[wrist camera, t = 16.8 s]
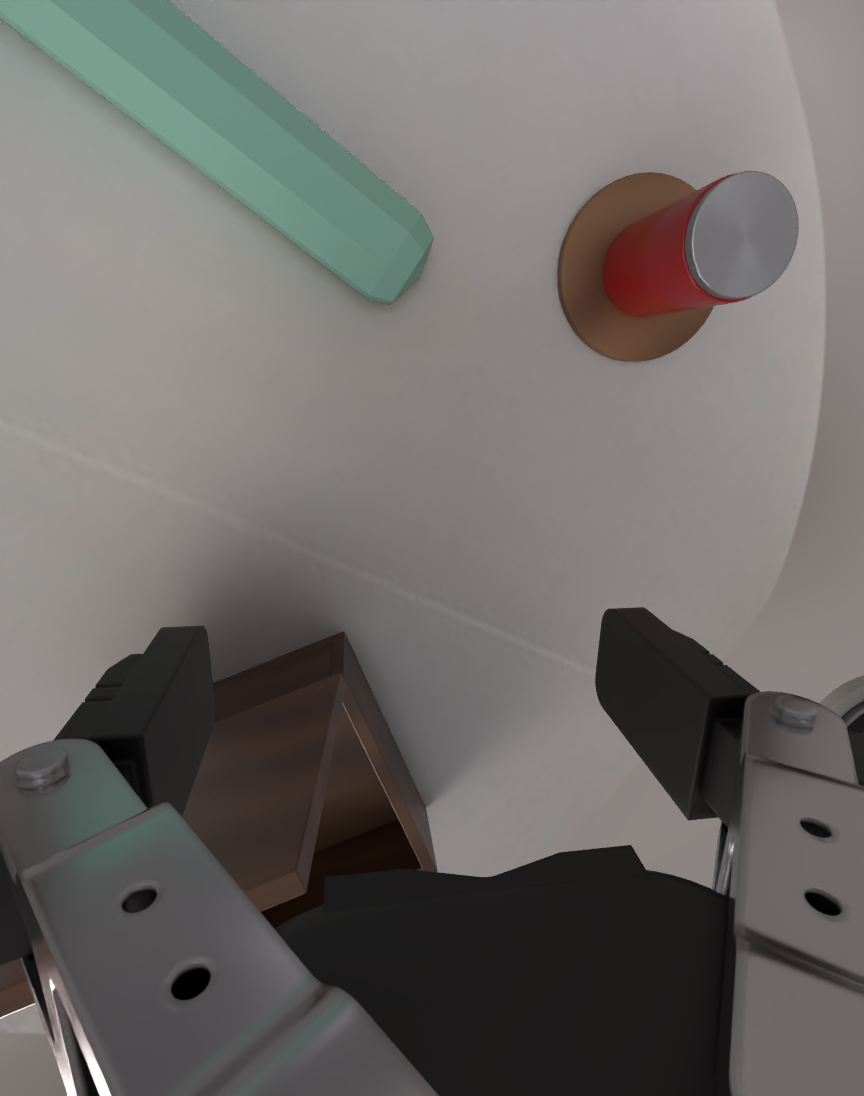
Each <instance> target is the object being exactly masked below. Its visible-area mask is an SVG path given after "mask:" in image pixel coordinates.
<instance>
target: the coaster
mask: <svg viewBox="0 0 864 1096" xmlns="http://www.w3.org/2000/svg"><path fill="white" fill-rule="evenodd" d="M695 191H696V190H695V189H694V188H693V187H692V186H690V185H689V184H687V183H685V182H684V181H682V180H680V179H678V178H675V177H673V176H670V175H666V174H661V173H650V172H649V173H638V174H634V175H630V176H626V177H624V178H621V179H619V180H616V181H614V182H613V183H611V184H609V185H608V186H606V187H605V188H603V189H602V190H600V191H599V192H598V193H597V194H595V195H594V196H593V197H592V198H591V199H590V200H589V201H588V202H587V203H586V204H585V205H584V206H583V207H582V209H581V210H580V211H579V213H578V214H577V215H576V217H575V219H574V220H573V222H572V224H571V226H570V228H569V230H568V232H567V234H566V237H565V239H564V243H563V246H562V249H561V254H560V259H559V268H558V287H559V293H560V299H561V303H562V306H563V309H564V312H565V314H566V317H567V319H568V321H569V323H570V324H571V326H572V328H573V329H574V331H575V332H576V333H577V335H578V336H579V337H580V338H581V339H582V340H583V341H584V342H585V343H586V344H587V345H588V346H589V347H591V348H592V349H593V350H595V351H596V352H598V353H600V354H602V355H604V356H606V357H609V358H612V359H615V360H621V361H646V360H651V359H655V358H659V357H661V356H664V355H666V354H669V353H671V352H672V351H674V350H676V349H677V348H679V347H680V346H682V345H683V344H684V343H686V342H687V341H688V340H689V339H690V338H691V337H692V336H693V335H694V334H695V333H696V332H697V331H698V330H699V329H700V327H701V326H702V325H703V324H704V322H705V321H706V319H707V318H708V316H709V315H710V313H711V311H712V309H713V307H714V306H711V307H705V308H700V309H694V310H688V311H683V312H677V313H671V314H665V315H660V316H654V317H648V318H637V317H632V316H630V315H627V314H625V313H623V312H622V311H621V310H619V309H618V308H617V307H616V306H615V305H614V303H613V302H612V301H611V299H610V297H609V296H608V293H607V291H606V287H605V283H604V263H605V258H606V255H607V252H608V250H609V248H610V246H611V244H612V242H613V241H614V239H615V238H616V237H617V235H618V234H619V233H620V232H621V231H622V230H624V229H625V228H626V227H627V226H629V225H631V224H633V223H635V222H637V221H638V220H640V219H642V218H644V217H646V216H648V215H650V214H652V213H654V212H656V211H658V210H660V209H662V208H664V207H666V206H668V205H670V204H672V203H673V202H675V201H677V200H679V199H681V198H683V197H685V196H687V195H689V194H691V193H693V192H695Z"/></svg>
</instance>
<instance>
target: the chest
mask: <svg viewBox="0 0 864 1096" xmlns="http://www.w3.org/2000/svg"><path fill="white" fill-rule="evenodd" d="M338 673H341V674H342V676H343V679H344V681H345V683H346V686H345V692H344V697H343V702H342V707H341V713H340V718H339V723H338V728H337V734H336V739H335V744H334V749H333V755H332V760H331V765H330V770H329V776H328V781H327V786H326V791H325V796H324V802H323V807H322V812H321V817H320V823H319V828H318V833H317V838H316V844H315V849H314V854H313V859H312V865H311V870H310V875H309V880H308V886H307V891H306V893H305V894H303V895H300V896H298V897H296V898H293V899H291V900H288V901H286V902H283V903H281V904H278V905H276V906H273V907H271V908H269V909H266V910H264V911H261V913H262V915H263V916H264V917H265V918H266V920H267V921H268V922H269V923H270V924H271V926H272V927H273V928H274V929H275V928H277V927H278V926H280V925H282V924H283V923H285V922H287V921H288V920H290V919H292V918H294V917H296V916H298V915H300V914H302V913H305V912H307V911H309V910H311V909H314V908H317V907H319V906H322V905H324V878H325V877H332V876H341V875H351V874H360V873H370V872H379V871H389V870H398V869H410V870H419V871H428V872H437V866H436V860H435V855H434V849H433V844H432V838H431V833H430V827H429V822H428V817H427V811H426V808H425V805H424V803H423V801H422V799H421V797H420V795H419V792H418V790H417V788H416V786H415V784H414V782H413V779H412V777H411V775H410V773H409V771H408V769H407V767H406V764H405V762H404V760H403V758H402V756H401V754H400V751H399V749H398V747H397V745H396V743H395V741H394V738H393V736H392V734H391V732H390V730H389V728H388V725H387V723H386V721H385V719H384V717H383V715H382V712H381V710H380V708H379V706H378V704H377V702H376V699H375V697H374V695H373V693H372V691H371V689H370V687H369V684H368V682H367V680H366V678H365V676H364V674H363V671H362V669H361V667H360V665H359V663H358V661H357V658H356V656H355V654H354V652H353V650H352V648H351V645H350V643H349V641H348V639H347V637H346V635H345V632H342V633H339V634H337V635H334V636H332V637H329V638H327V639H324V640H322V641H319V642H316V643H314V644H311V645H309V646H306V647H304V648H301V649H299V650H296V651H294V652H291V653H289V654H286V655H284V656H281V657H279V658H276V659H274V660H271V661H269V662H266V663H264V664H261V665H259V666H256V667H254V668H251V669H249V670H246V671H244V672H241V673H238V674H236V675H233V676H231V677H228V678H226V679H223V680H221V681H218V682H216V683H213V691H214V703H215V711H214V723H215V722H218V721H220V720H223V719H225V718H228V717H230V716H233V715H235V714H238V713H240V712H243V711H245V710H248V709H250V708H253V707H255V706H258V705H260V704H263V703H265V702H268V701H270V700H273V699H275V698H278V697H280V696H283V695H285V694H288V693H290V692H293V691H295V690H298V689H300V688H303V687H305V686H308V685H310V684H313V683H316V682H318V681H321V680H323V679H326V678H328V677H331V676H333V675H336V674H338Z"/></svg>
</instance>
